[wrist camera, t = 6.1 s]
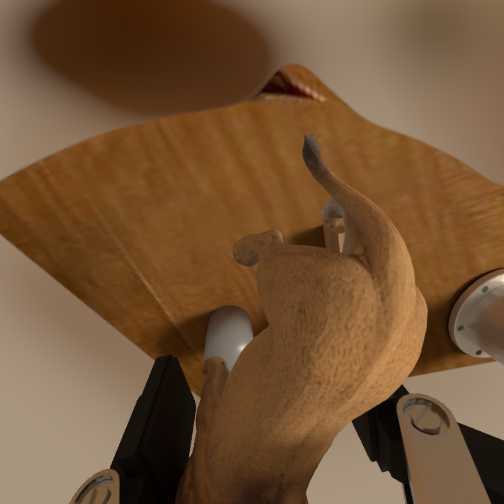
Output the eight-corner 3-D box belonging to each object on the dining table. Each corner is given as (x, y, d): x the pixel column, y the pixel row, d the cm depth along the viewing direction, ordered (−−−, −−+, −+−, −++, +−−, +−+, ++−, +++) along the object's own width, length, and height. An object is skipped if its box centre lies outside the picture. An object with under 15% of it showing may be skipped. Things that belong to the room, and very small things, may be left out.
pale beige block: (367, 213, 26) (391, 221, 23) (369, 248, 28) (392, 260, 24) (322, 224, 26) (338, 234, 23) (326, 258, 28) (342, 273, 24)
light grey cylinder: (245, 300, 28) (249, 333, 23) (255, 336, 30) (261, 375, 24) (202, 311, 28) (196, 347, 23) (214, 346, 30) (211, 388, 24)
